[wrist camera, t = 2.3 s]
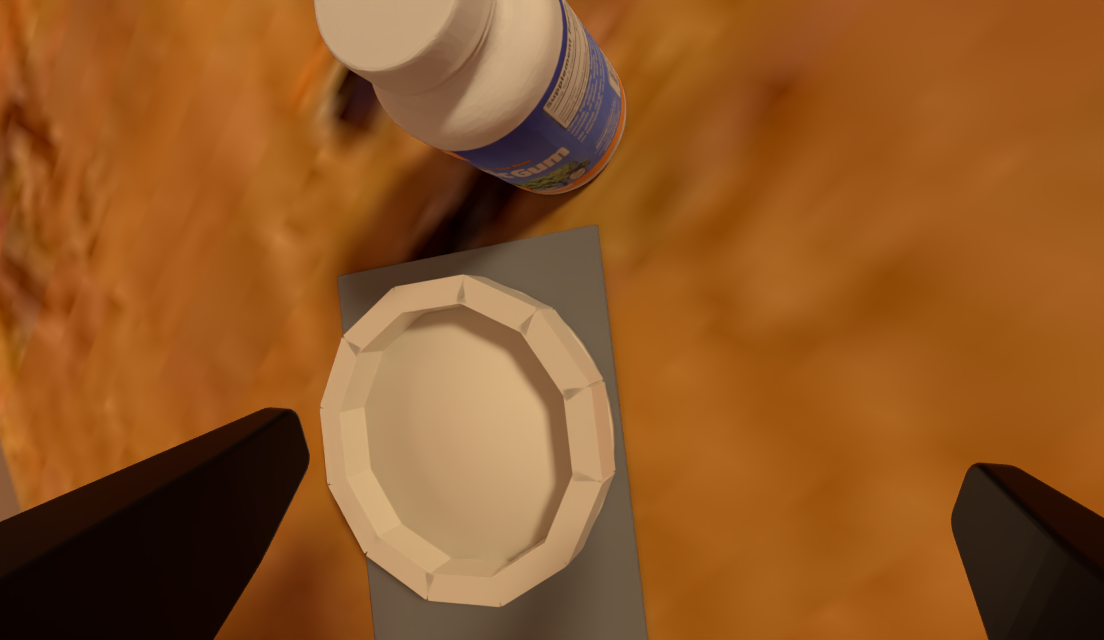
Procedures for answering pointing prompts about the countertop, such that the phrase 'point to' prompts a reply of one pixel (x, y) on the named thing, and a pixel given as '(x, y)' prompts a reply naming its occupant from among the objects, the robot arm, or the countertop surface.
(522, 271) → the placemat
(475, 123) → the pill bottle
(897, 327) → the countertop surface
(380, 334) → the dish
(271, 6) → the countertop surface
